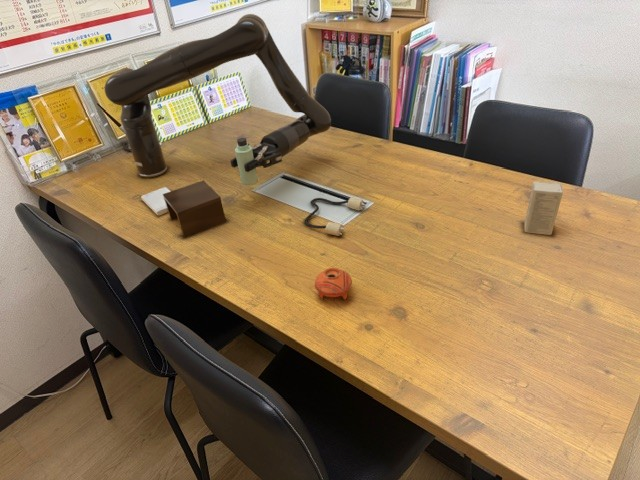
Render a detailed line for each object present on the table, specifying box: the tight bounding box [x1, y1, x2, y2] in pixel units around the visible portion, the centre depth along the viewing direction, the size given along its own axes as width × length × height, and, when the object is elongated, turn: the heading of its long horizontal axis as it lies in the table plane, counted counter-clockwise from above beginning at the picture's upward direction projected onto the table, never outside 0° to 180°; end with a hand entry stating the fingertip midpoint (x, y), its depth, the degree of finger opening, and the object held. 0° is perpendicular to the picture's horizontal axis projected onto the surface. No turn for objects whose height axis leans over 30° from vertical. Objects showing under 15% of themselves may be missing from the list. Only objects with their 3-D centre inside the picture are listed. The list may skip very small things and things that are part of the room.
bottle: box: [234, 137, 259, 187], centre depth 121 cm, size 5×5×13 cm
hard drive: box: [140, 186, 172, 217], centre depth 134 cm, size 2×8×12 cm
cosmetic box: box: [523, 181, 564, 236], centre depth 107 cm, size 6×4×12 cm
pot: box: [314, 267, 353, 301], centre depth 95 cm, size 8×8×7 cm
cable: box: [304, 196, 366, 237], centre depth 120 cm, size 16×16×4 cm
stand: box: [163, 180, 227, 238], centre depth 123 cm, size 12×12×8 cm
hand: (239, 166), depth 120 cm, fingers closed on bottle, 4 cm apart
